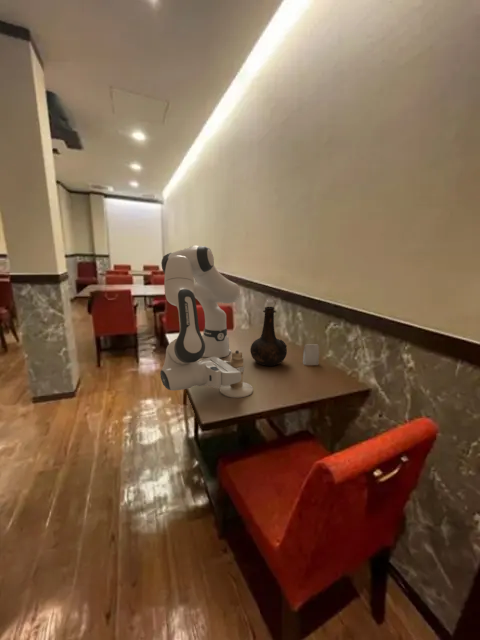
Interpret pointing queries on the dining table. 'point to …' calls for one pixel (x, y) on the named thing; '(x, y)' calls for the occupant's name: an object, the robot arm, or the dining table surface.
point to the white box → (311, 354)
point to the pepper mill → (236, 362)
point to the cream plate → (237, 391)
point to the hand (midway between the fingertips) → (238, 365)
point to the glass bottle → (268, 343)
